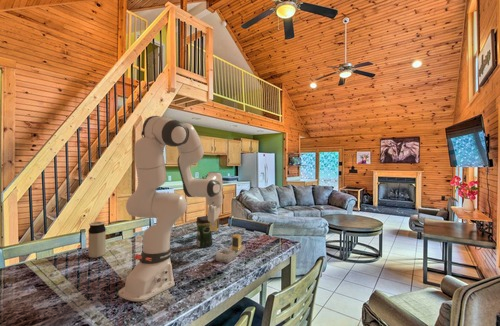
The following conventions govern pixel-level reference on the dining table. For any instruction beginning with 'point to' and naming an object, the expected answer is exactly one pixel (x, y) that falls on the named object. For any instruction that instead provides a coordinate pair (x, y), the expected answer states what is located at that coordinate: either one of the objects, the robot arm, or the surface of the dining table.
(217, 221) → the yellow block grey top
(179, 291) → the dining table surface
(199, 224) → the coffee jar
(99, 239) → the travel mug
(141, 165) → the robot arm
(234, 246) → the beige base with post
